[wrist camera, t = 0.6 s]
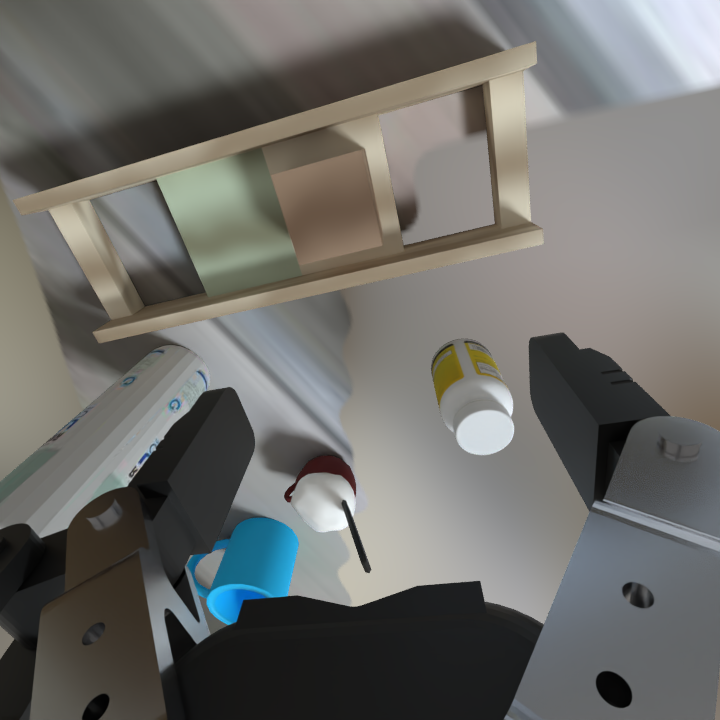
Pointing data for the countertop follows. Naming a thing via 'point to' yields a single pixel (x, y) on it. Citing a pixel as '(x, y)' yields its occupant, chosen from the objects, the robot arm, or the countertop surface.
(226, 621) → the mug
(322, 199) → the walnut block
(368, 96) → the frame
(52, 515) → the spray can
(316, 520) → the cocoa
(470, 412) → the supplement bottle
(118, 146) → the countertop surface
